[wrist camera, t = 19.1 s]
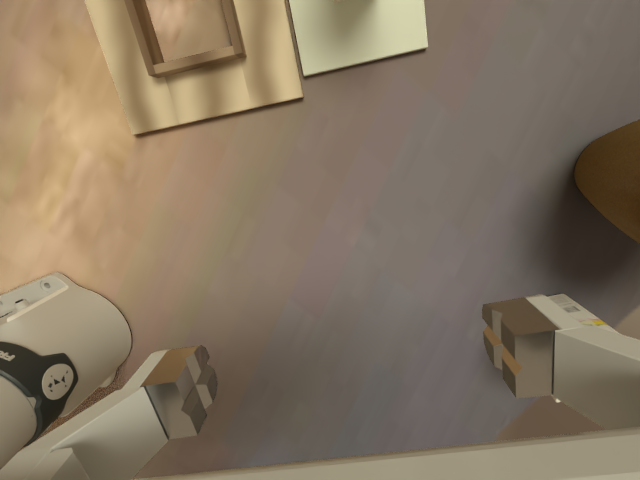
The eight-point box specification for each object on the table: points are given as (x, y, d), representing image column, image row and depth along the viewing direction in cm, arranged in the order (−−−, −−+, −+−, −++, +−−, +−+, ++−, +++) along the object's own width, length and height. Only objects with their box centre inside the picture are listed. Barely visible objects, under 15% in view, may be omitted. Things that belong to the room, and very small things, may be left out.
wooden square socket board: (137, 134, 38) (122, 134, 36) (63, -74, 32) (39, -93, 30) (303, 97, 36) (301, 94, 34) (257, -134, 30) (250, -160, 28)
